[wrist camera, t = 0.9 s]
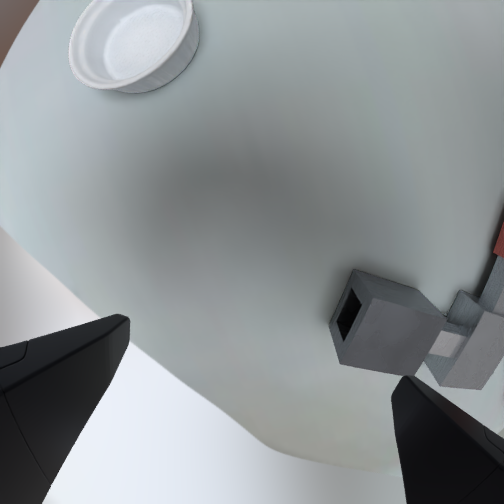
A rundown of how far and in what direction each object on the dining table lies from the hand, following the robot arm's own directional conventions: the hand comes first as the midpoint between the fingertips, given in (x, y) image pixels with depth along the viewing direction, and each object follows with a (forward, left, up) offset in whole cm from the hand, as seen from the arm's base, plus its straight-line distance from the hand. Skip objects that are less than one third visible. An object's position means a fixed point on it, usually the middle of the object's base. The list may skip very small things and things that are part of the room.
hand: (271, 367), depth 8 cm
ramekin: (+13, -12, -13) cm, 22 cm away
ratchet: (-16, -3, -13) cm, 21 cm away
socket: (-9, +2, -13) cm, 16 cm away
